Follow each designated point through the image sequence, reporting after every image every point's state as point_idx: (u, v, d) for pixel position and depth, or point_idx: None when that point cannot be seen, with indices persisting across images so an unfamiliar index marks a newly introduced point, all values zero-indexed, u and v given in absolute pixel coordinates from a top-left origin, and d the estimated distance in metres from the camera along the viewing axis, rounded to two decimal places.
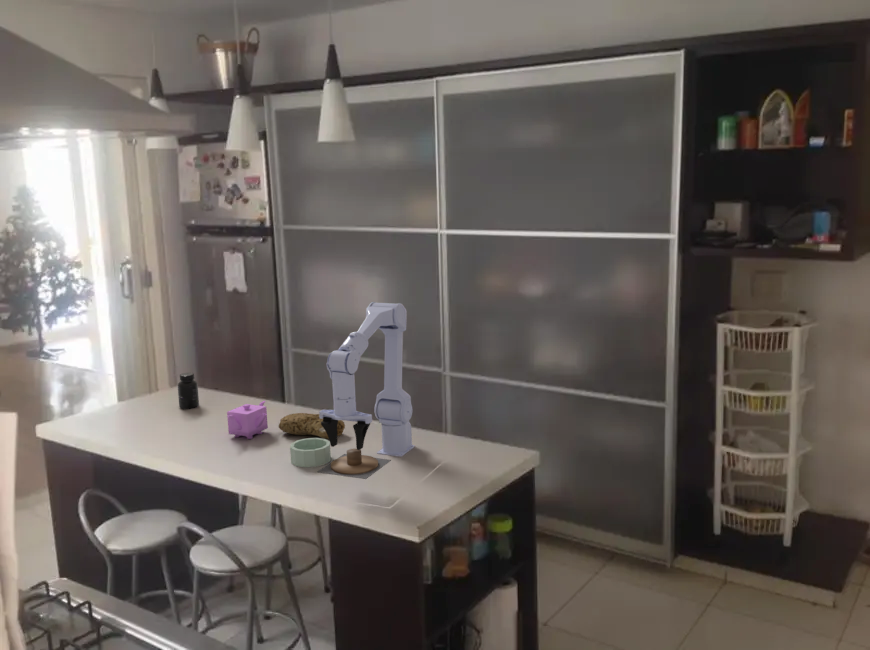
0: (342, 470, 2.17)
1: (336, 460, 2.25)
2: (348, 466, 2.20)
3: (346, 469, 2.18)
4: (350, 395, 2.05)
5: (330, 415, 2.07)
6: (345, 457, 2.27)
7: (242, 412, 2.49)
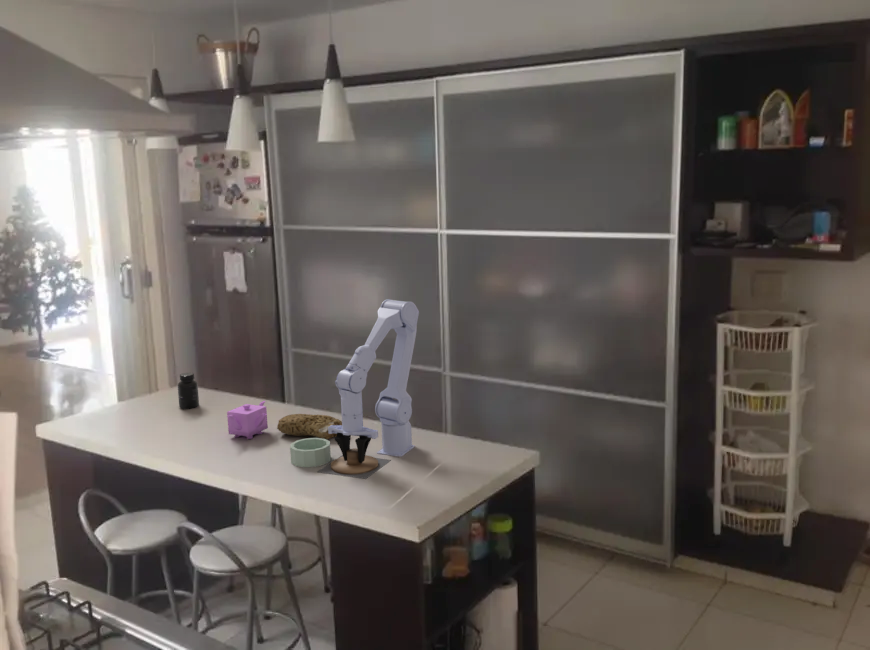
0: (342, 470, 2.17)
1: (336, 460, 2.25)
2: (348, 465, 2.20)
3: (346, 469, 2.18)
4: (355, 412, 2.17)
5: (338, 430, 2.20)
6: None
7: (242, 412, 2.49)
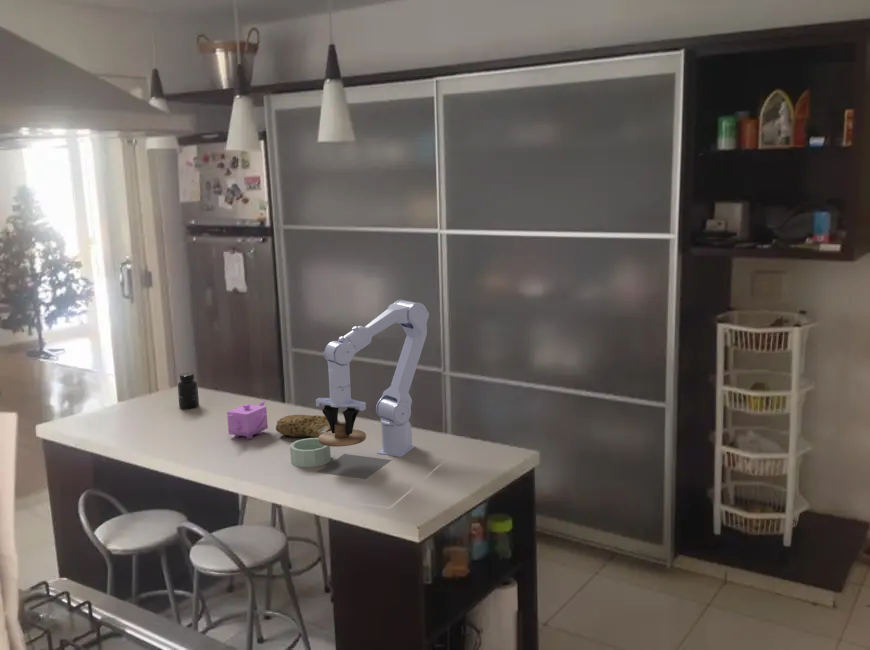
0: (330, 442, 2.17)
1: (324, 434, 2.25)
2: (336, 438, 2.20)
3: (334, 441, 2.18)
4: (340, 384, 2.17)
5: (326, 403, 2.20)
6: None
7: (242, 412, 2.49)
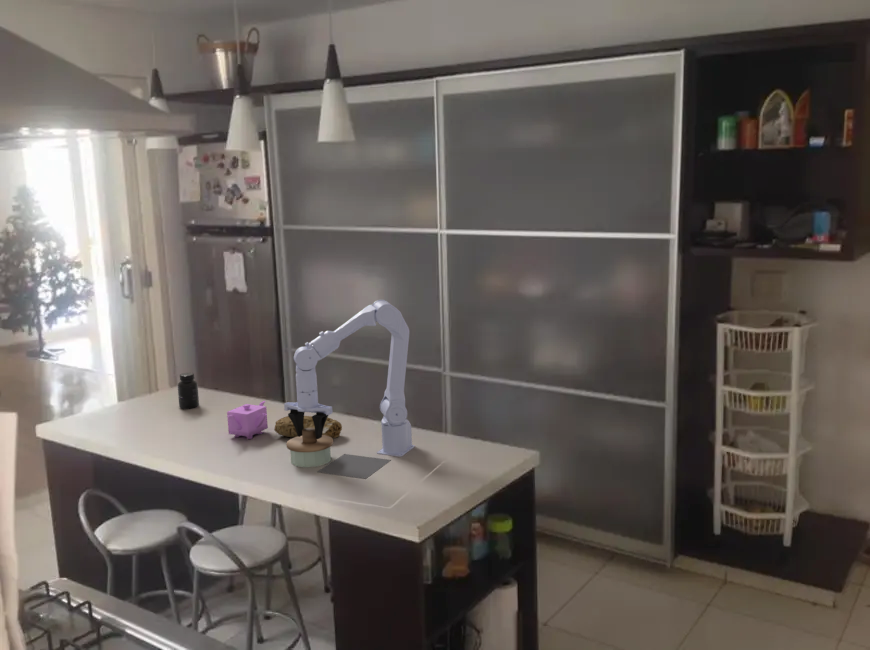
0: (297, 448, 2.22)
1: (292, 439, 2.30)
2: (303, 444, 2.25)
3: (301, 447, 2.23)
4: (303, 389, 2.22)
5: (294, 407, 2.25)
6: (302, 436, 2.32)
7: (242, 412, 2.49)
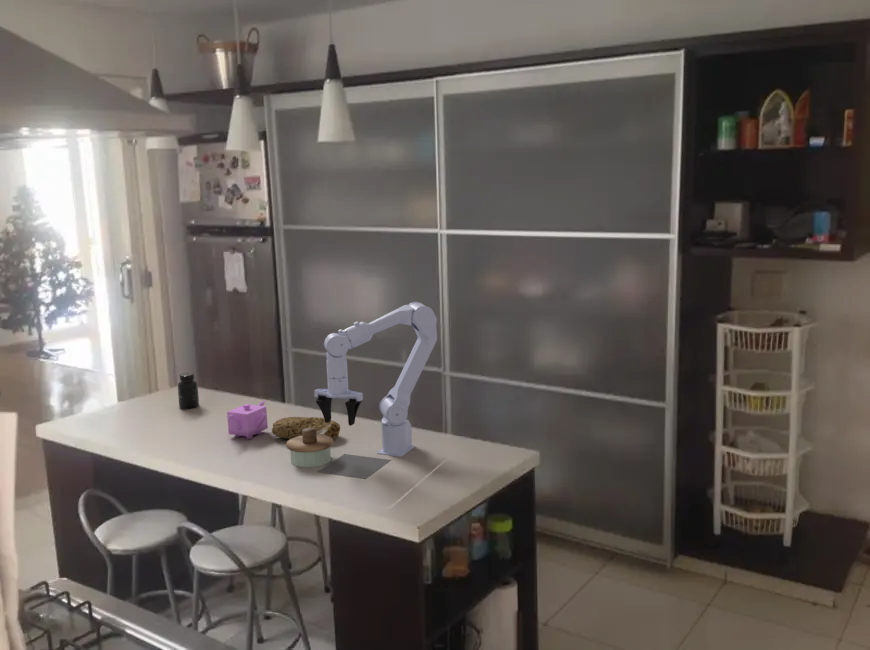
0: (297, 448, 2.22)
1: (292, 439, 2.30)
2: (303, 444, 2.25)
3: (301, 447, 2.23)
4: (334, 376, 2.23)
5: (324, 393, 2.26)
6: (302, 436, 2.32)
7: (242, 412, 2.49)
